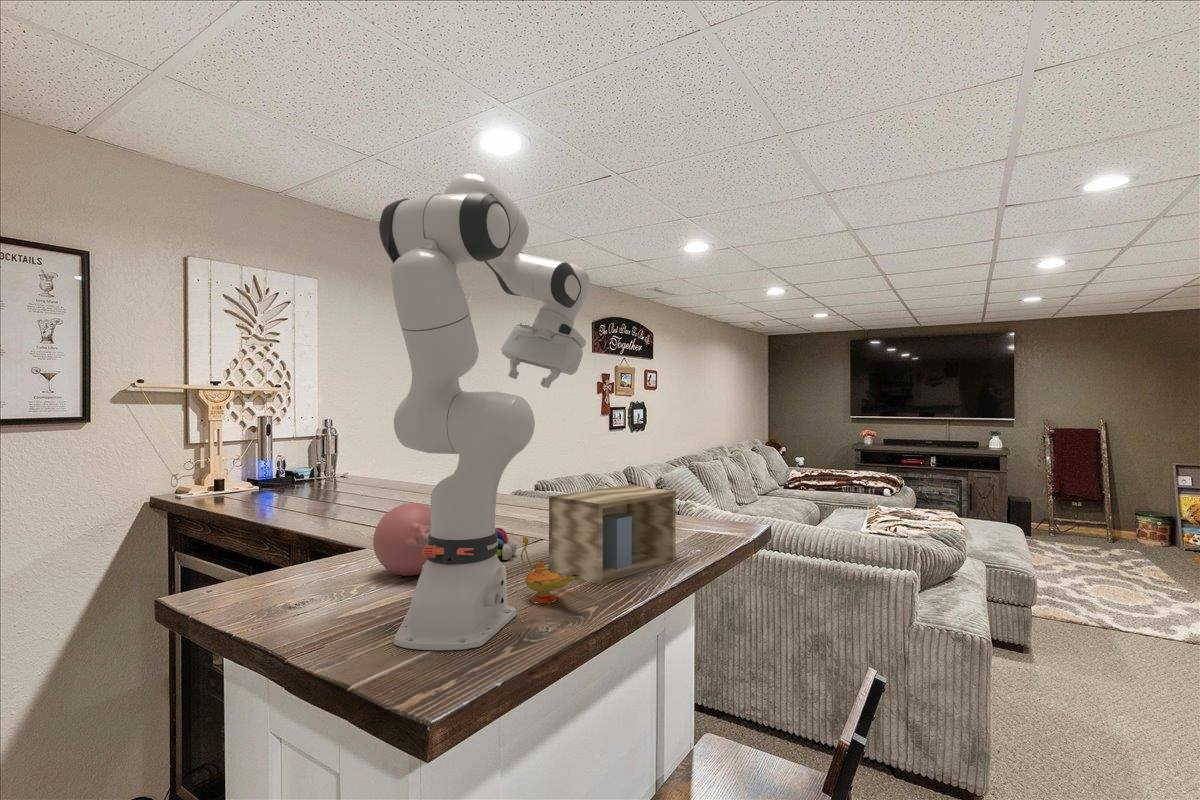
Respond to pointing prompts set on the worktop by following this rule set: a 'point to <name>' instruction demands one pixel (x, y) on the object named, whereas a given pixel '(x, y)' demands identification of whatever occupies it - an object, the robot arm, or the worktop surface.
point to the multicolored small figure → (505, 545)
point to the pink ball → (403, 538)
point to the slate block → (617, 541)
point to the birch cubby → (582, 530)
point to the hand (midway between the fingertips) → (527, 382)
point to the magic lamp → (543, 579)
